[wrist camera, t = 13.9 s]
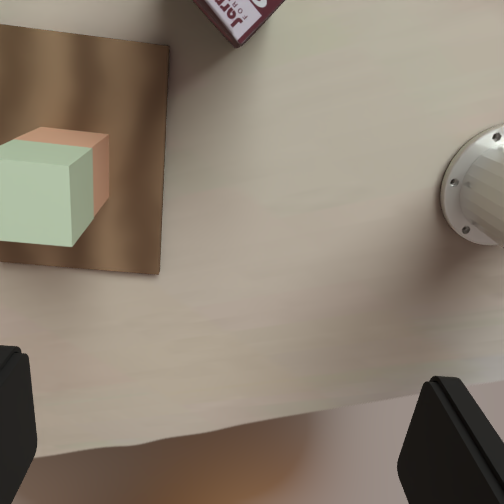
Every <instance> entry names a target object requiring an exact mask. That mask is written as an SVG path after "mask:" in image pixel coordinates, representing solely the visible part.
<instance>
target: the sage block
mask: <svg viewBox="0 0 504 504" xmlns="http://www.w3.org/2000/svg"><path fill="white" fill-rule="evenodd" d="M93 219H94V201H93V148H88V147H79V146H70V145H61V144H52V143H43V142H34V141H24V140H15V139H14V140H11V141H9V142H7V143H5V144H2V145H0V241H10V242H21V243H32V244H44V245H55V246H66V247H73V245H74V244H75V243H76V241H77V240H78V239H79V237H80V236H81V235H82V233H83V232H84V231H85V230H86V228H87V227H88V226H89V224H90V223H91V222H92V220H93Z"/></svg>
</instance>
